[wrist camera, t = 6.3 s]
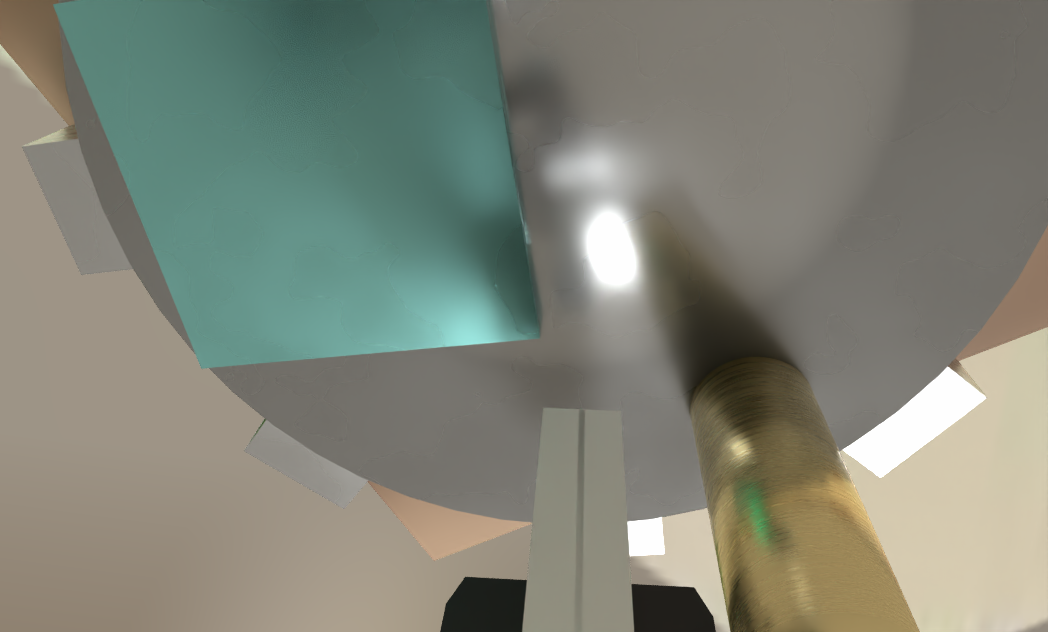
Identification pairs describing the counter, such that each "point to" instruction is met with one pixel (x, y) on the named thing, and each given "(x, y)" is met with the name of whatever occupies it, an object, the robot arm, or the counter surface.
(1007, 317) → the base board
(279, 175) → the turntable
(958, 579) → the counter surface
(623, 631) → the robot arm
